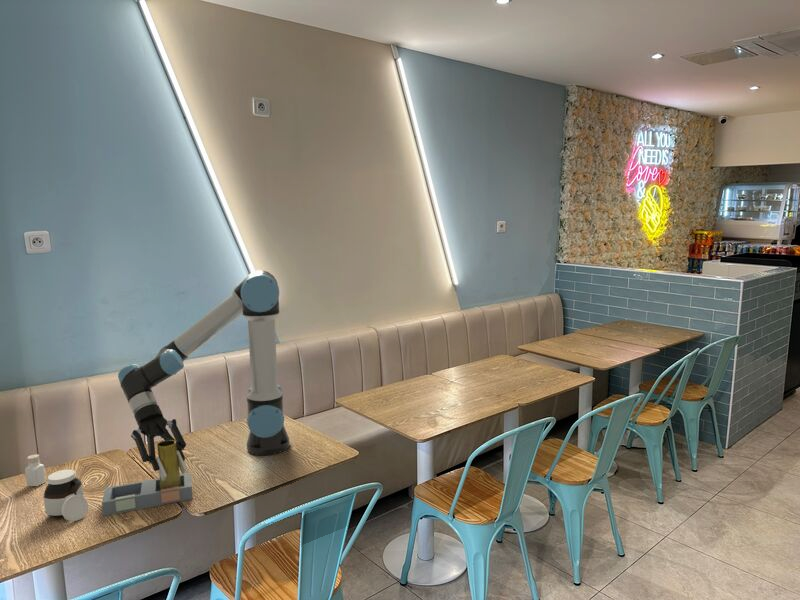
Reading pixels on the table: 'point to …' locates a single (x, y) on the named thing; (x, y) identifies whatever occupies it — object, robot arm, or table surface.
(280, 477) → the table surface
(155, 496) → the sorting tray
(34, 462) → the salt shaker
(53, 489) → the spread jar
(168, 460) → the vase
